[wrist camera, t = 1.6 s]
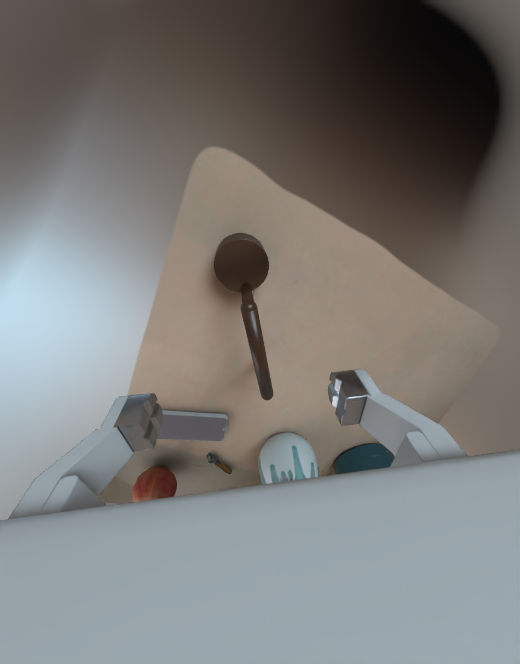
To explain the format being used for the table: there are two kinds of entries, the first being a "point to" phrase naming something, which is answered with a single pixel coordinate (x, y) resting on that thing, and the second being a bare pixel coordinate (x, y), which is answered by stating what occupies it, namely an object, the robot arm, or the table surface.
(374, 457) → the bowl
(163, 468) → the fruit
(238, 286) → the ladle
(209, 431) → the smartphone
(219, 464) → the can opener
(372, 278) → the table surface
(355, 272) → the table surface
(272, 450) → the vase
